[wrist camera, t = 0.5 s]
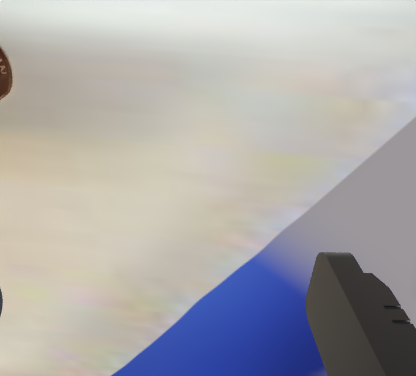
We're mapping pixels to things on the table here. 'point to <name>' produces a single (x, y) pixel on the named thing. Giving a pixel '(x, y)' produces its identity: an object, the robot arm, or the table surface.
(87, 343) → the table surface
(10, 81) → the coffee cup
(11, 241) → the table surface
